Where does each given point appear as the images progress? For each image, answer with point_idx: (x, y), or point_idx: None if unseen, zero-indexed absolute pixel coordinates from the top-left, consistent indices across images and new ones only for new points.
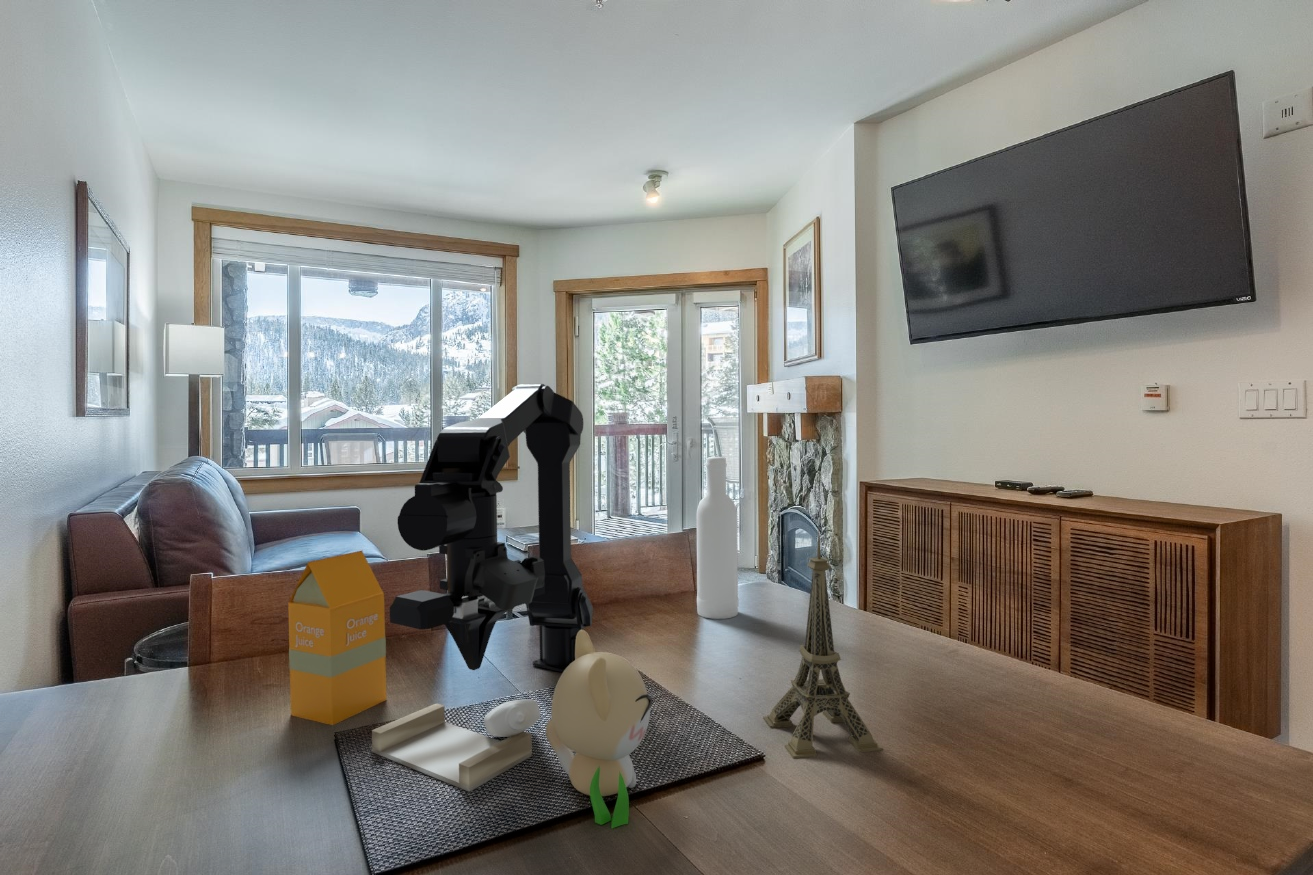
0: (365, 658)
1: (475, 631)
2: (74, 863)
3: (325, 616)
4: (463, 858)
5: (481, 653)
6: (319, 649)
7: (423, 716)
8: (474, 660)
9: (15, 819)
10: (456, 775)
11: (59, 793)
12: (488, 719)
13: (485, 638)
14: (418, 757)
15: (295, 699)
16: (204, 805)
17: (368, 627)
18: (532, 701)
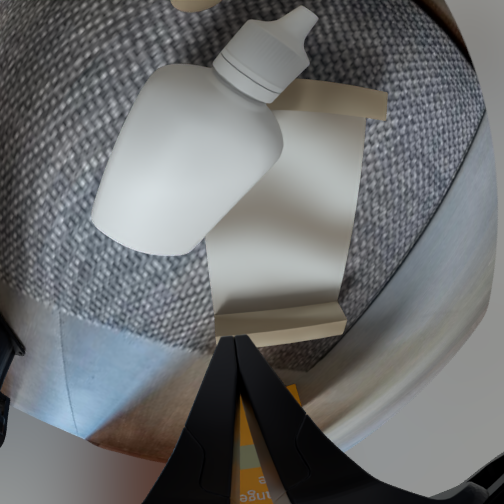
0: (255, 450)
1: (313, 477)
2: (489, 295)
3: None
4: (448, 19)
5: (226, 378)
6: None
7: (263, 329)
8: (260, 359)
9: (453, 356)
10: (350, 139)
11: (431, 372)
12: (266, 172)
13: (214, 436)
14: (331, 245)
15: None
16: (443, 313)
17: (254, 486)
18: (163, 82)
